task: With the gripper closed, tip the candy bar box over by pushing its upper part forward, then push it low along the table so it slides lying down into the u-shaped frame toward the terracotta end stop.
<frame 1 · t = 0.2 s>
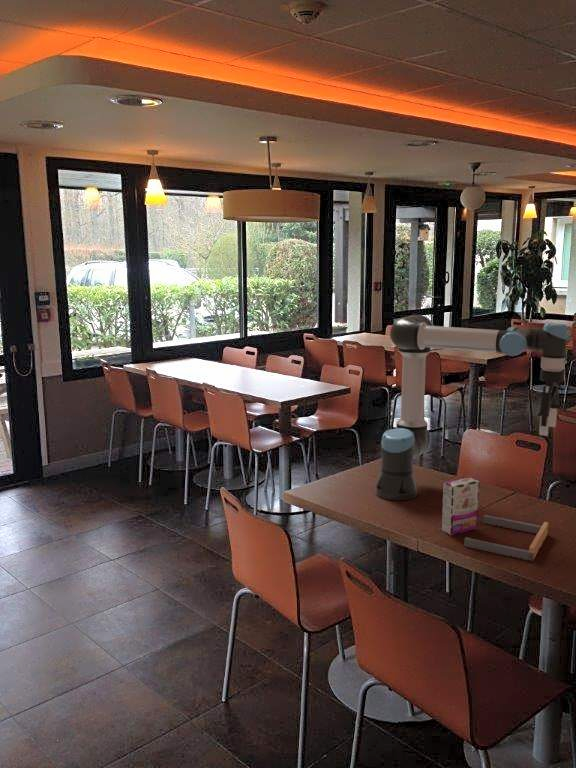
hand: (547, 430, 233), 28 cm above the table, tool pointing down, fingers open, 13 cm apart
candy bar box: (458, 530, 219), on the table
u-shaped frame: (506, 540, 211), on the table
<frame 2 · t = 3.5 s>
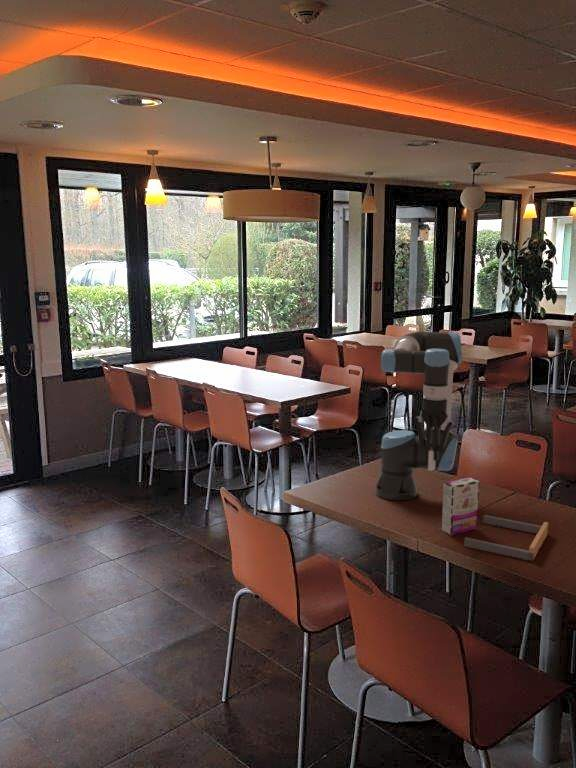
hand: (431, 469, 220), 19 cm above the table, tool pointing down, fingers closed
nothing on the table moved.
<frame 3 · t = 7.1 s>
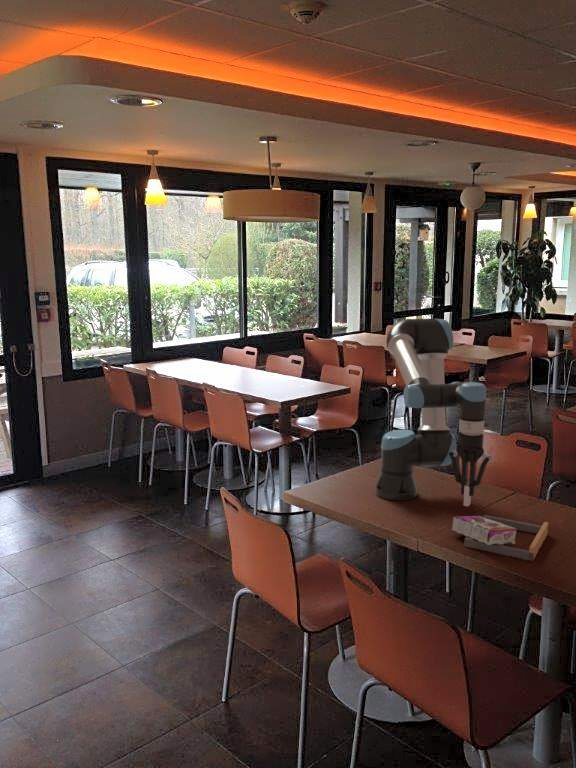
hand: (467, 504, 216), 9 cm above the table, tool pointing down, fingers closed
candy bar box: (465, 522, 217), point 3 cm above the table, touching u-shaped frame
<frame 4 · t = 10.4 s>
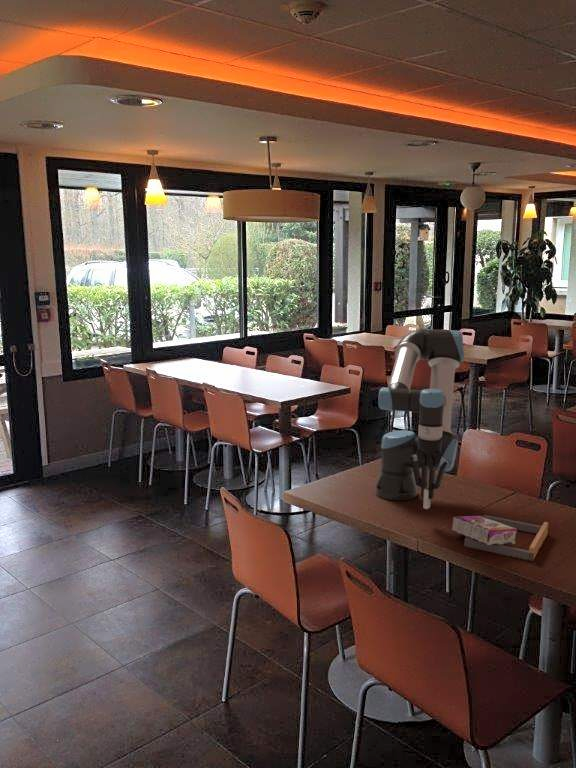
hand: (426, 507, 223), 6 cm above the table, tool pointing down, fingers closed
nothing on the table moved.
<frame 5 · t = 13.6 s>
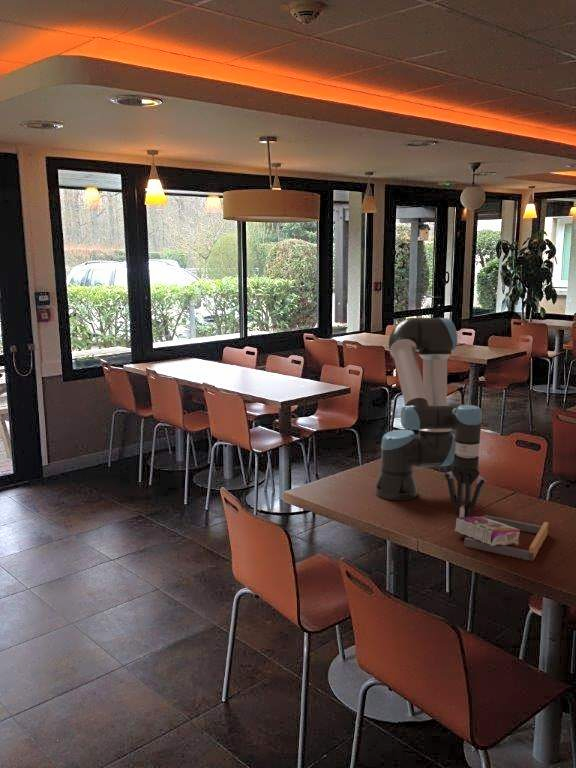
hand: (462, 525, 218), 2 cm above the table, tool pointing down, fingers closed
candy bar box: (468, 523, 216), point 3 cm above the table, touching gripper, u-shaped frame
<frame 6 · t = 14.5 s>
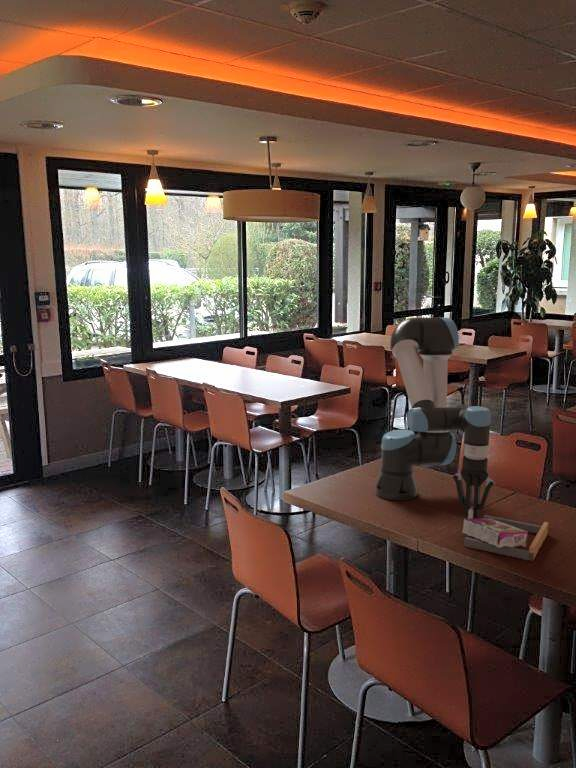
hand: (470, 527, 217), 2 cm above the table, tool pointing down, fingers closed
candy bar box: (475, 525, 215), point 3 cm above the table, touching gripper, u-shaped frame
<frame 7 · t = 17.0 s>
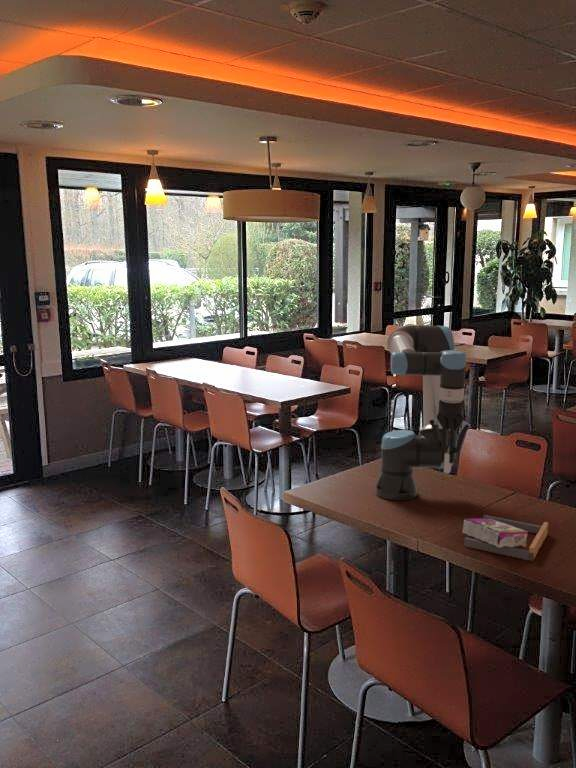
hand: (447, 471, 218), 18 cm above the table, tool pointing down, fingers closed
candy bar box: (475, 525, 215), point 3 cm above the table, touching u-shaped frame
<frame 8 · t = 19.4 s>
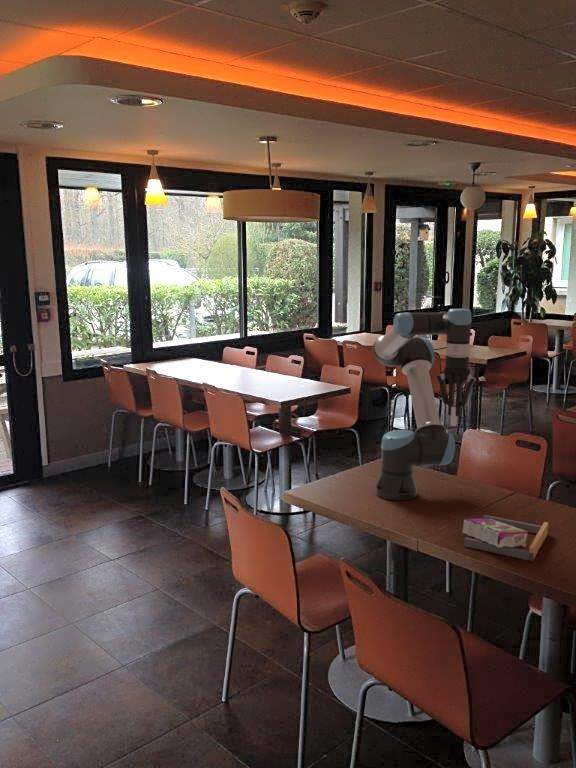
hand: (453, 425, 230), 30 cm above the table, tool pointing down, fingers closed
nothing on the table moved.
at the end: candy bar box tilted 84°; candy bar box inside the target area (10.0 cm from its centre), point 3.2 cm above the table; the gripper is holding nothing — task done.
